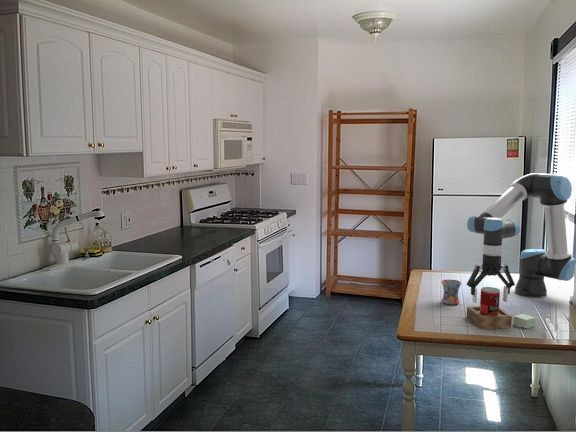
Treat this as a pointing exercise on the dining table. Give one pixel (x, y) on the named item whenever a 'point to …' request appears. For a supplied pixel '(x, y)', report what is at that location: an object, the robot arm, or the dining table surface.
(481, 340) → the dining table surface
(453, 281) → the mug
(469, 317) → the wooden tray
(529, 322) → the brick
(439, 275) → the dining table surface
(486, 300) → the canned food
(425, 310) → the dining table surface
